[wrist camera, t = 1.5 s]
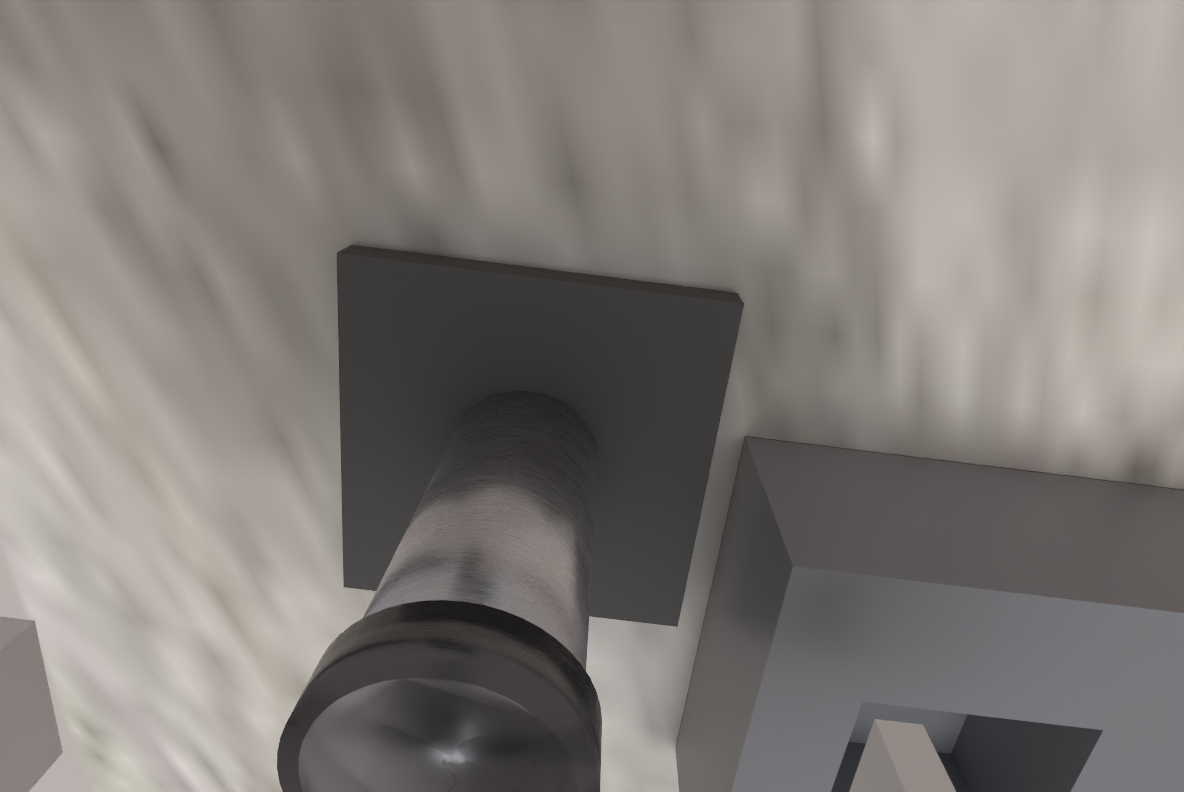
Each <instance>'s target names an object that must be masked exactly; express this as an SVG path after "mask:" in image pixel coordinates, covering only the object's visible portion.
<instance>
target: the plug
mask: <svg viewBox="0 0 1184 792" xmlns="http://www.w3.org/2000/svg"><path fill="white" fill-rule="evenodd" d="M597 473H598V450H597V446H596V442H595V439H594V437H593V434H592V432H591V430H590V429H589V427H588V425H587V424H586V423H585V421H584V420H583V419H582V417H581V416H580V415H579V414H578V413H577V412H576V411H574V410H573V409H572V408H571V407H569V406H568V405H566V404H565V403H563V402H562V401H560V400H558V399H556V398H553V397H551V396H548V395H545V394H542V393H537V392H532V391H509V392H504V393H500V394H497V395H494V396H491V397H489V398H487V399H485V400H483V401H481V402H480V403H478V404H477V405H475V406H474V407H473V408H472V409H470V410H469V411H468V412H467V414H466V415H465V416H464V417H463V418H462V420H461V421H460V423H459V425H458V426H457V428H456V430H455V432H454V434H453V436H452V439H451V441H450V443H449V445H448V447H447V449H446V451H445V453H444V455H443V457H442V459H441V461H440V463H439V465H438V467H437V469H436V471H435V473H434V475H433V477H432V479H431V481H430V483H429V485H428V487H427V489H426V491H425V493H424V495H423V497H422V499H421V501H420V503H419V505H418V507H417V509H416V512H415V514H414V516H413V518H412V520H411V522H410V524H409V526H408V528H407V530H406V532H405V534H404V536H403V538H402V540H401V542H400V544H399V546H398V548H397V550H396V552H395V554H394V556H393V558H392V560H391V562H390V564H389V566H388V568H387V570H386V572H385V574H384V576H383V578H382V580H381V583H380V585H379V587H378V589H377V591H376V593H375V595H374V597H373V599H372V601H371V603H370V605H369V607H368V609H367V611H366V613H365V615H364V617H363V619H361V620H360V621H358V622H356V623H355V624H353V625H351V626H350V627H349V628H348V629H346V630H345V631H344V632H343V633H341V634H340V635H339V636H338V637H337V638H336V639H335V640H334V642H333V643H332V644H331V645H330V646H329V647H328V649H327V650H326V652H325V653H324V655H323V656H322V658H321V659H320V661H319V663H318V665H317V667H316V669H315V671H314V672H313V674H312V676H311V678H310V680H309V682H308V684H307V686H306V688H305V689H304V691H303V693H302V695H301V697H300V699H299V701H298V703H297V704H296V706H295V708H294V710H293V712H292V714H291V716H290V718H289V719H288V721H287V723H286V726H285V728H284V730H283V733H282V735H281V738H280V743H279V748H278V753H277V769H278V775H279V781H280V785H281V788H282V791H283V792H600V770H601V736H602V717H601V707H600V703H599V700H598V696H597V692H596V690H595V688H594V686H593V683H592V681H591V679H590V677H589V676H588V674H587V673H586V658H587V641H588V625H589V608H590V591H591V574H592V557H593V540H594V524H595V507H596V490H597Z"/></svg>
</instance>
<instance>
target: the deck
mask: <svg viewBox="0 0 1184 792" xmlns="http://www.w3.org/2000/svg"><path fill="white" fill-rule="evenodd" d="M337 285H338V333H339V381H340V429H341V477H342V525H343V573H344V587H348V588H357V589H365V590H373V591H377V589H378V587H379V585H380V583H381V580H382V578H383V576H384V574H385V572H386V570H387V568H388V566H389V564H390V562H391V560H392V558H393V556H394V554H395V552H396V550H397V548H398V546H399V544H400V542H401V540H402V538H403V536H404V534H405V532H406V530H407V528H408V526H409V524H410V522H411V520H412V518H413V516H414V514H415V512H416V509H417V507H418V505H419V503H420V501H421V499H422V497H423V495H424V493H425V491H426V489H427V487H428V485H429V483H430V481H431V479H432V477H433V475H434V473H435V471H436V469H437V467H438V465H439V463H440V461H441V459H442V457H443V455H444V453H445V451H446V449H447V447H448V445H449V443H450V441H451V439H452V436H453V434H454V432H455V430H456V428H457V426H458V425H459V423H460V421H461V420H462V418H463V417H464V416H465V415H466V414H467V412H468V411H469V410H470V409H472V408H473V407H474V406H475V405H477V404H478V403H480V402H481V401H483V400H485V399H487V398H489V397H491V396H494V395H497V394H500V393H504V392H509V391H532V392H537V393H542V394H545V395H548V396H551V397H553V398H556V399H558V400H560V401H562V402H563V403H565V404H566V405H568V406H569V407H571V408H572V409H573V410H574V411H576V412H577V413H578V414H579V415H580V416H581V417H582V419H583V420H584V421H585V423H586V424H587V425H588V427H589V429H590V430H591V432H592V434H593V437H594V439H595V442H596V446H597V450H598V473H597V490H596V507H595V524H594V540H593V557H592V574H591V591H590V608H589V616H592V617H601V618H609V619H618V620H626V621H635V622H643V623H651V624H660V625H668V626H678V621H679V616H680V611H681V606H682V602H683V597H684V592H685V587H686V582H687V577H688V572H689V568H690V563H691V558H692V553H693V548H694V543H695V538H696V534H697V529H698V524H699V519H700V514H701V509H702V504H703V500H704V495H705V490H706V485H707V480H708V475H709V470H710V466H711V461H712V456H713V451H714V446H715V441H716V436H717V432H718V427H719V422H720V417H721V412H722V407H723V402H724V398H725V393H726V388H727V383H728V378H729V373H730V368H731V364H732V359H733V354H734V349H735V344H736V339H737V334H738V330H739V325H740V320H741V315H742V310H743V305H744V303H743V302H742V300H741V298H740V297H739V295H738V293H730V292H722V291H714V290H706V289H698V288H690V287H682V286H674V285H666V284H658V283H650V282H642V281H634V280H626V279H618V278H610V277H602V276H594V275H586V274H578V273H570V272H562V271H554V270H546V269H538V268H530V267H522V266H514V265H506V264H498V263H489V262H481V261H473V260H465V259H457V258H449V257H441V256H433V255H425V254H417V253H409V252H401V251H393V250H385V249H377V248H369V247H361V246H353V245H351V246H349V247H347V248H345V249H343V250H342V251H340V252H338V253H337Z"/></svg>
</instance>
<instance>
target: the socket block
mask: <svg viewBox="0 0 1184 792" xmlns="http://www.w3.org/2000/svg"><path fill="white" fill-rule="evenodd" d="M874 719H880V720H888V721H897V722H905V723H914V724H923V726H924V728H925V730H926V732H927V734H928V736H929V738H930V740H931V742H932V744H933V746H934V748H935V750H936V752H937V754H938V756H939V758H940V760H941V762H942V764H943V766H944V768H945V770H946V772H947V774H948V776H949V778H950V780H951V782H952V784H953V786H954V788H955V790H956V792H1184V490H1178V489H1170V488H1162V487H1153V486H1145V485H1137V484H1129V483H1121V482H1112V481H1104V480H1096V479H1088V478H1080V477H1071V476H1063V475H1055V474H1047V473H1039V472H1030V471H1022V470H1014V469H1006V468H998V467H990V466H981V465H973V464H965V463H957V462H949V461H940V460H932V459H924V458H916V457H908V456H899V455H891V454H883V453H875V452H867V451H858V450H850V449H842V448H834V447H826V446H818V445H809V444H801V443H793V442H785V441H777V440H768V439H760V438H752V437H745V439H744V444H743V448H742V453H741V457H740V462H739V466H738V471H737V475H736V480H735V484H734V489H733V493H732V498H731V502H730V507H729V511H728V516H727V520H726V525H725V529H724V534H723V538H722V542H721V547H720V551H719V556H718V560H717V565H716V569H715V574H714V578H713V583H712V587H711V592H710V596H709V601H708V605H707V610H706V614H705V619H704V623H703V628H702V632H701V637H700V641H699V646H698V650H697V655H696V659H695V664H694V668H693V672H692V677H691V681H690V686H689V690H688V695H687V699H686V704H685V708H684V713H683V717H682V722H681V726H680V731H679V735H678V740H677V744H676V758H677V770H678V781H679V792H849V791H850V788H851V785H852V782H853V779H854V777H855V774H856V771H857V768H858V765H859V762H860V759H861V757H862V754H863V751H864V748H865V745H866V742H867V739H868V737H869V734H870V731H871V728H872V725H873V722H874Z"/></svg>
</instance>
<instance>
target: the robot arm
mask: <svg viewBox="0 0 1184 792" xmlns="http://www.w3.org/2000/svg"><path fill="white" fill-rule="evenodd" d="M61 754H62V747H61V742H60V737H59V733H58V728H57V723H56V719H55V714H54V709H53V705H52V700H51V696H50V691H49V686H48V681H47V677H46V672H45V667H44V662H43V658H42V653H41V648H40V644H39V639H38V634H37V630H36V625H35V621H33V620H24V619H15V618H7V617H0V792H29V791H30V789H31V788H32V787H33V786H34V785H35V784H36V783H37V781H38V780H39V779H40V778H41V777H42V776H43V774H44V773H45V772H46V771H47V770H48V769H49V767H50V766H51V765H52V764H53V763H54V762H55V761H56V759H57V758H58V757H59V756H60V755H61ZM849 792H956V790H955V788H954V786H953V784H952V782H951V780H950V778H949V776H948V774H947V772H946V770H945V768H944V766H943V764H942V762H941V760H940V758H939V756H938V754H937V752H936V750H935V748H934V746H933V744H932V742H931V740H930V738H929V736H928V734H927V732H926V730H925V728H924V726H923V724H914V723H905V722H897V721H888V720H880V719H874V722H873V725H872V728H871V731H870V734H869V737H868V739H867V742H866V745H865V748H864V751H863V754H862V757H861V759H860V762H859V765H858V768H857V771H856V774H855V777H854V779H853V782H852V785H851V788H850V791H849Z"/></svg>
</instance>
